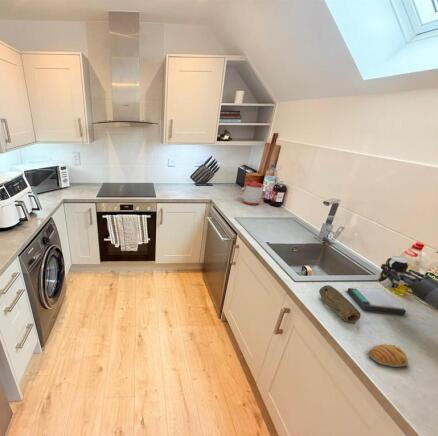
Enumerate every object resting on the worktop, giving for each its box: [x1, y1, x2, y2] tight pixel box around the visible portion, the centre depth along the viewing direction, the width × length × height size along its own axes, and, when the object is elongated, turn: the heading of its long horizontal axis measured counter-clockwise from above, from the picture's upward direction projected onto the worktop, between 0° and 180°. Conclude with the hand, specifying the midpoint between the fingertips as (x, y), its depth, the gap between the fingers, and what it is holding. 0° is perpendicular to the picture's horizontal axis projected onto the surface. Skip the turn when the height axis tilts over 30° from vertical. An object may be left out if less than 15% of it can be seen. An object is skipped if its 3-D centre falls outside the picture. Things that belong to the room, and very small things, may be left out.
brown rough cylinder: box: [318, 284, 362, 323], centre depth 93 cm, size 15×7×7 cm, turn 5°
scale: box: [346, 287, 407, 316], centre depth 97 cm, size 14×11×3 cm
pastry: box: [368, 344, 410, 368], centre depth 74 cm, size 9×7×4 cm
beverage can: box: [377, 255, 410, 289], centre depth 90 cm, size 6×6×12 cm
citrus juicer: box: [241, 180, 265, 206], centre depth 204 cm, size 16×17×20 cm
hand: (386, 265), depth 92 cm, fingers closed on beverage can, 3 cm apart
